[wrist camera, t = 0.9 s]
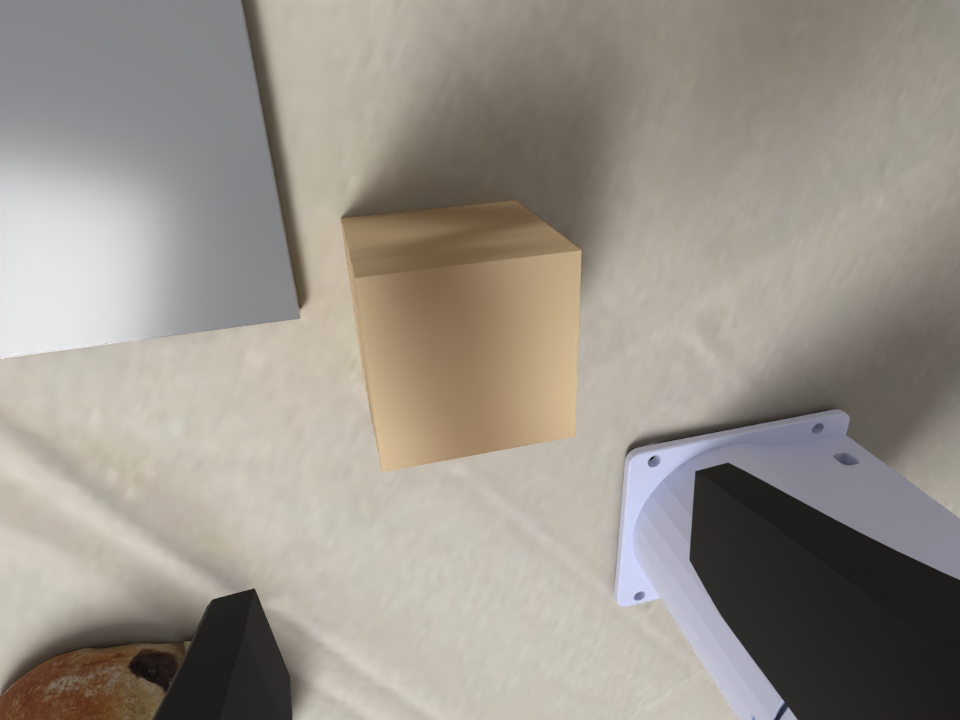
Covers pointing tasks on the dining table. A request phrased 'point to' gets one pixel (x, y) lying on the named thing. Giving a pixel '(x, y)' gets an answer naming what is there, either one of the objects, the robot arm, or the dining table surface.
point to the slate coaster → (134, 175)
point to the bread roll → (96, 684)
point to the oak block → (464, 329)
